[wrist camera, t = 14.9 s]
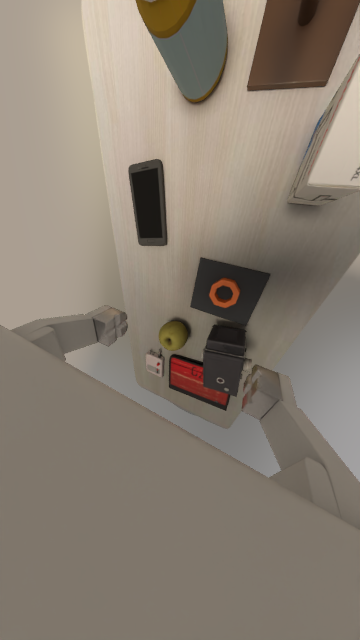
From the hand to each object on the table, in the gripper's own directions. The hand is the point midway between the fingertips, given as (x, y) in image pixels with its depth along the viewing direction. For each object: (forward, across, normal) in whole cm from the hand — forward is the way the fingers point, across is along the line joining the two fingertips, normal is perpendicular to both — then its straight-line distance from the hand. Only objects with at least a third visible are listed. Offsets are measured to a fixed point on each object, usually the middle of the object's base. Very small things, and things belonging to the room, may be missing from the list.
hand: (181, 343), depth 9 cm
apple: (+27, +9, +20) cm, 35 cm away
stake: (+27, +1, -26) cm, 37 cm away
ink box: (+27, -7, -15) cm, 32 cm away
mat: (+27, 0, +6) cm, 28 cm away
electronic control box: (+27, +16, +38) cm, 50 cm away
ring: (+27, 0, +6) cm, 27 cm away
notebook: (+27, -1, +37) cm, 46 cm away
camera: (+27, -5, +19) cm, 34 cm away
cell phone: (+27, +20, -7) cm, 34 cm away
